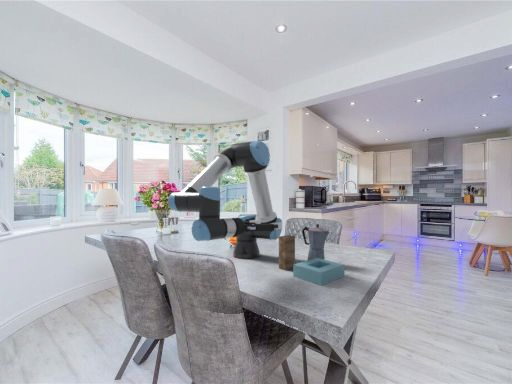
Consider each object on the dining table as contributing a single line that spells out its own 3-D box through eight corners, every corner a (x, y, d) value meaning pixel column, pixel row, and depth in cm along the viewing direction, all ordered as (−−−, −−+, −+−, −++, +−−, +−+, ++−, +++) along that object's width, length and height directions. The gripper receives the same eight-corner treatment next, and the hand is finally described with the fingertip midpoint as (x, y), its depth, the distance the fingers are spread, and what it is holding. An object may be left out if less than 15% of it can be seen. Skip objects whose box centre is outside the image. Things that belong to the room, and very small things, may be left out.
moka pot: (326, 268, 116) (326, 226, 116) (297, 262, 125) (297, 223, 125) (333, 263, 123) (333, 224, 123) (305, 258, 132) (305, 222, 133)
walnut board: (278, 268, 115) (278, 236, 115) (288, 265, 120) (288, 235, 120) (285, 270, 112) (285, 237, 112) (294, 267, 117) (294, 236, 117)
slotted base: (293, 276, 104) (293, 264, 104) (316, 268, 115) (316, 257, 115) (321, 285, 93) (321, 272, 93) (344, 276, 104) (344, 264, 104)
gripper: (214, 233, 104) (252, 229, 118) (251, 241, 85) (291, 236, 99) (214, 216, 104) (252, 214, 118) (251, 220, 86) (291, 217, 99)
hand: (270, 224), depth 109 cm, fingers open, 13 cm apart
